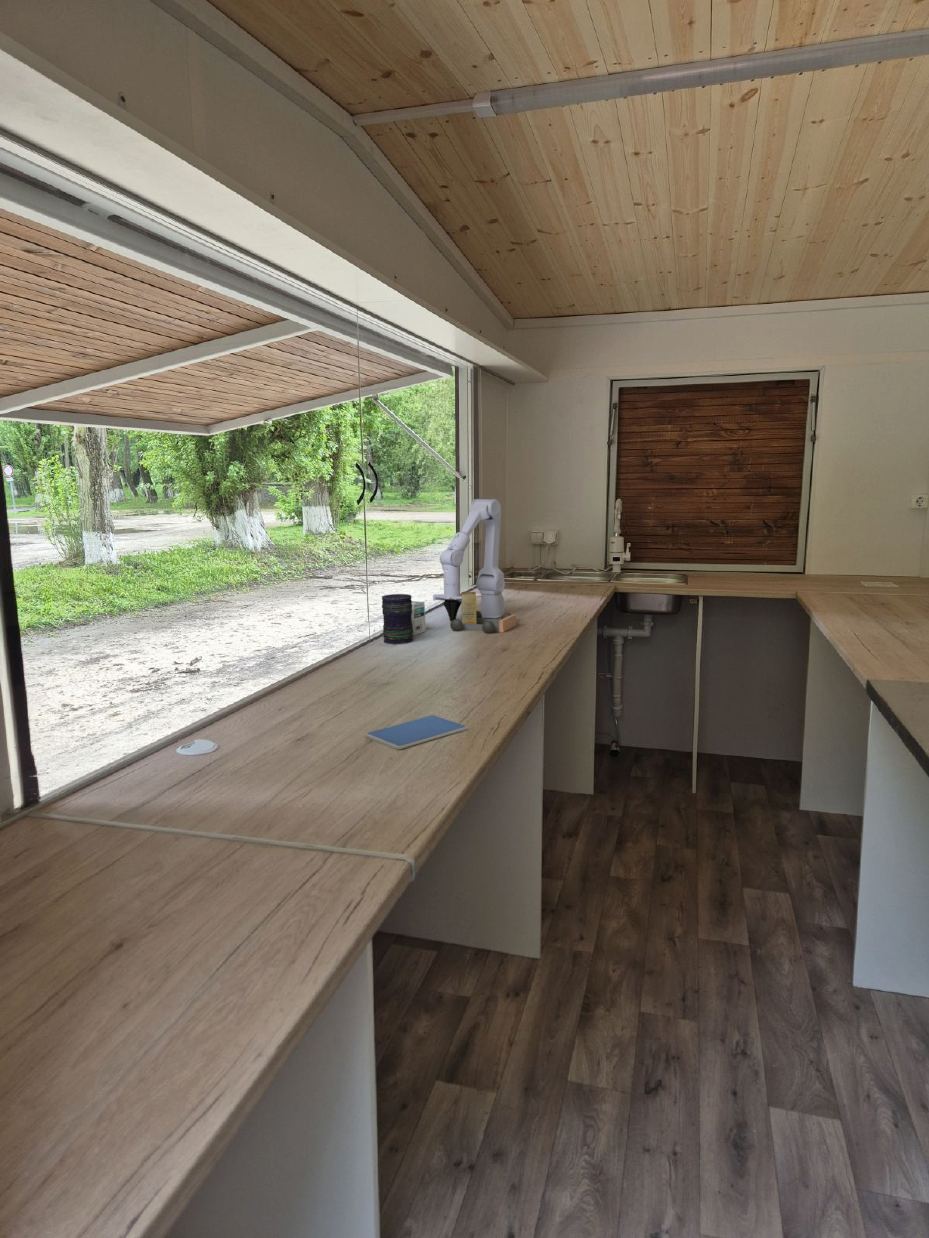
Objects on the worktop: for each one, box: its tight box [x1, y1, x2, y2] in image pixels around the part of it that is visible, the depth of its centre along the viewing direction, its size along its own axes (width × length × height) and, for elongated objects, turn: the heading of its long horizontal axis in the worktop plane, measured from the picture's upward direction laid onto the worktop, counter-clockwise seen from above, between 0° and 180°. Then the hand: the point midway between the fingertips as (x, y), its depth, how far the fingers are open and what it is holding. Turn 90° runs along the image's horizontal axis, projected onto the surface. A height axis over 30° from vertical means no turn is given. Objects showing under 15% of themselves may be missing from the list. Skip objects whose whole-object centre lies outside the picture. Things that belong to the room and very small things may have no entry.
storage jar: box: [381, 593, 414, 645], centre depth 268 cm, size 10×10×15 cm
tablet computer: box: [364, 714, 469, 750], centre depth 177 cm, size 19×13×1 cm, turn 132°
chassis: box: [450, 610, 517, 634], centre depth 289 cm, size 19×19×4 cm
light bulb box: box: [411, 600, 427, 636], centre depth 283 cm, size 11×7×11 cm, turn 58°
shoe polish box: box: [460, 591, 477, 624], centre depth 291 cm, size 5×5×12 cm
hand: (452, 620), depth 294 cm, fingers closed
